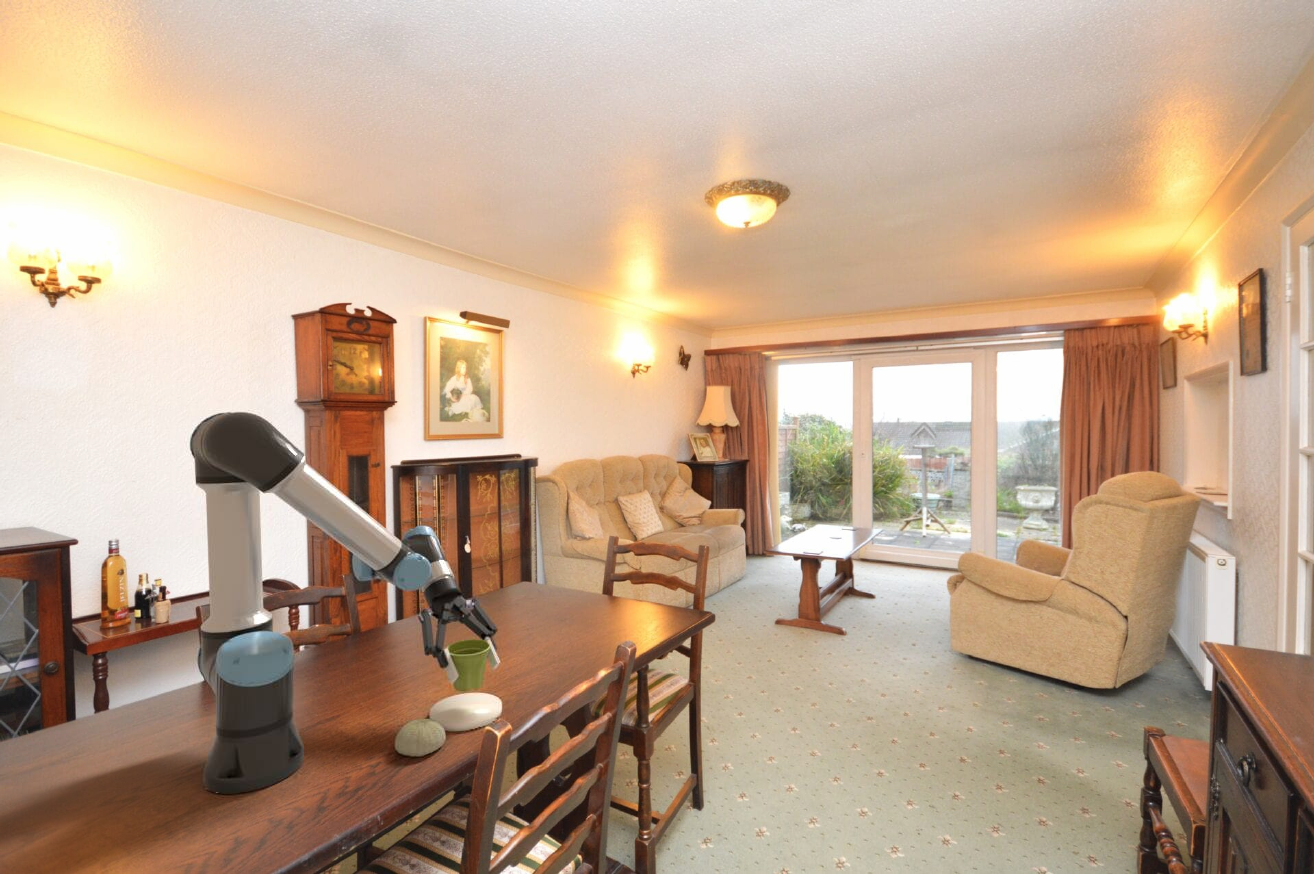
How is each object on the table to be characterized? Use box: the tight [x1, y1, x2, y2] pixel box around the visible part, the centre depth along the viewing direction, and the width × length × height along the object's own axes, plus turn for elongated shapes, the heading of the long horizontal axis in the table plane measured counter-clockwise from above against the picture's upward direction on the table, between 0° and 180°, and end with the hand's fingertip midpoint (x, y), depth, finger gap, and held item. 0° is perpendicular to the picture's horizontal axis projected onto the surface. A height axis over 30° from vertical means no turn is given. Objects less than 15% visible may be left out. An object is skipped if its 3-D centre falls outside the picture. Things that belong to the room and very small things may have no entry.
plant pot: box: [445, 639, 491, 693], centre depth 133 cm, size 9×9×9 cm
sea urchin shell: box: [394, 718, 447, 758], centre depth 119 cm, size 9×8×8 cm
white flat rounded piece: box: [429, 692, 503, 732], centre depth 132 cm, size 15×15×2 cm
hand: (476, 672), depth 130 cm, fingers closed on plant pot, 9 cm apart
